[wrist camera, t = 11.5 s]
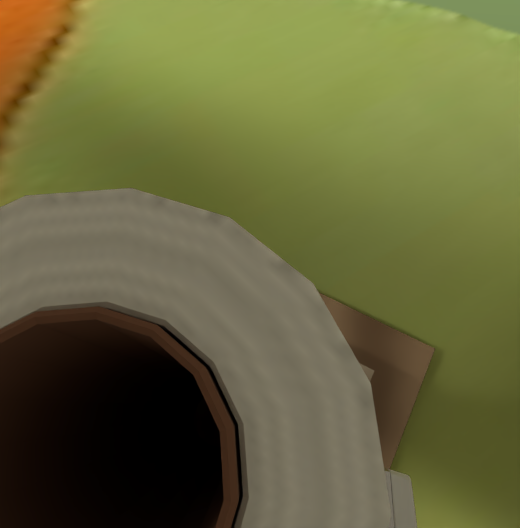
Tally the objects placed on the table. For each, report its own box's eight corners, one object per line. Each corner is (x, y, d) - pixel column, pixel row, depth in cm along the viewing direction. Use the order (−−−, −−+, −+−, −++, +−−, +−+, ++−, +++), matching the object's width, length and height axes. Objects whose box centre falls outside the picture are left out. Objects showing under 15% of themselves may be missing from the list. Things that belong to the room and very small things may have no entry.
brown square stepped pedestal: (0, 500, 30) (-81, 530, 23) (168, 223, 36) (147, 178, 29) (303, 682, 27) (321, 781, 20) (430, 350, 33) (478, 334, 26)
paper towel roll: (296, 394, 25) (500, 345, 4) (242, 502, 23) (167, 1214, 3) (184, 331, 26) (-79, 48, 5) (124, 430, 24) (-582, 571, 4)
